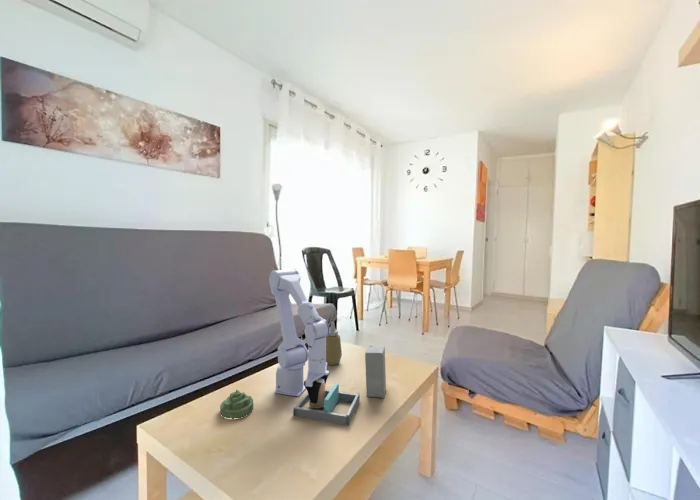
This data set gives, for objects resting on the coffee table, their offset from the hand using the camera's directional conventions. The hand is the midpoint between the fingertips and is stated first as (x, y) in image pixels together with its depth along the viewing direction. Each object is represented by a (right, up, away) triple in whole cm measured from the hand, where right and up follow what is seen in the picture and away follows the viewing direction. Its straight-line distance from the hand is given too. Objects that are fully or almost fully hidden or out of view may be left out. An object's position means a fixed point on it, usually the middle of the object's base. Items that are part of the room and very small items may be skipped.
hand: (317, 398), depth 105 cm
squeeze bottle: (+3, -1, +36) cm, 36 cm away
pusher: (+5, -3, -1) cm, 6 cm away
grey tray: (+4, -3, -1) cm, 5 cm away
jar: (0, -2, 0) cm, 2 cm away
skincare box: (+20, -3, +10) cm, 23 cm away
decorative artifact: (-25, -3, -2) cm, 26 cm away
